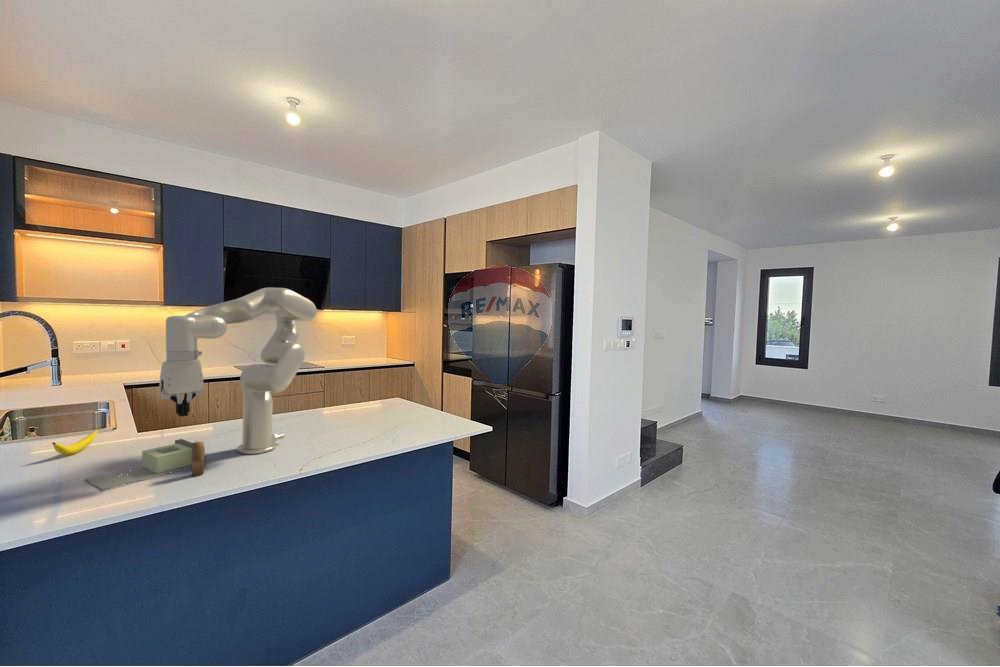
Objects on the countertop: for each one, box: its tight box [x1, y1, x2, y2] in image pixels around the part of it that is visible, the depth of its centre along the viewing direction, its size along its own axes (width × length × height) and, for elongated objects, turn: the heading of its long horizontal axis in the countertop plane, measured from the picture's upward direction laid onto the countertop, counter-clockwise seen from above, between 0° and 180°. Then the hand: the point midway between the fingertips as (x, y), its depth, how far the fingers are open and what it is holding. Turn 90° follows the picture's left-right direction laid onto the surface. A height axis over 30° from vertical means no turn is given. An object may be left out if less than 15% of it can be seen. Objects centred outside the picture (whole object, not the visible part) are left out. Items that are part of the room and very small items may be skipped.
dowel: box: [191, 441, 205, 477], centre depth 130 cm, size 3×3×10 cm
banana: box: [51, 430, 99, 456], centre depth 143 cm, size 3×19×6 cm, turn 11°
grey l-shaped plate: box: [85, 438, 206, 491], centre depth 130 cm, size 25×15×6 cm, turn 151°
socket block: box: [141, 443, 192, 473], centre depth 135 cm, size 10×10×5 cm
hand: (182, 415), depth 128 cm, fingers closed
